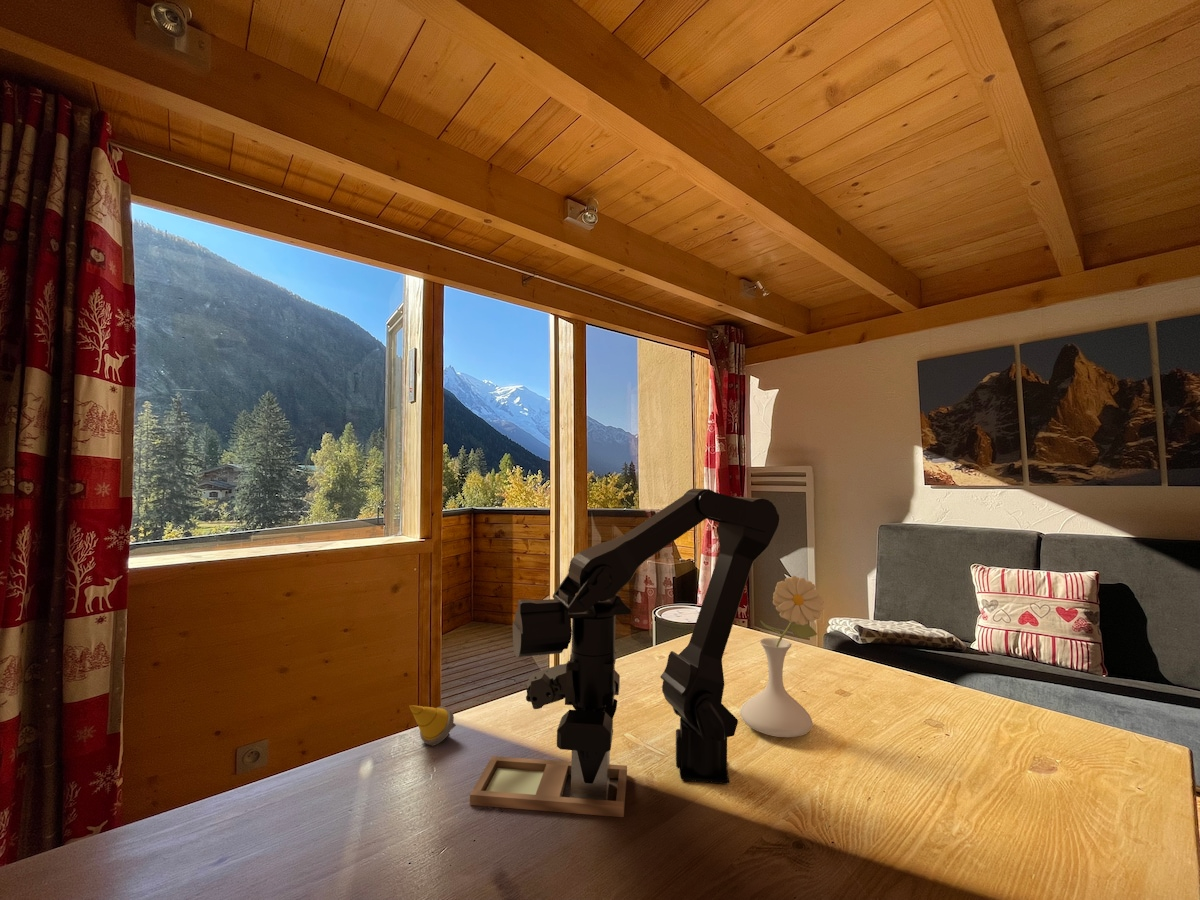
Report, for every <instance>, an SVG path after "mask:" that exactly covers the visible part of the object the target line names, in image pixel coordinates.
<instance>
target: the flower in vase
mask: <svg viewBox="0 0 1200 900" xmlns="http://www.w3.org/2000/svg"><path fill="white" fill-rule="evenodd" d="M772 599H773V600H772V604H773V606H775V610H776V611H777V612H779V616H780V618H782V619H785V620H786V621H788V622H789V624H788V625H787V627H786V628H785V630H784V631H783V633H781V632H780V631H779V629H776V628H775V627H773V626H770V625H768V624H766V623H765V622H764V621H762V620H761V619H760V623H761V625H762V627H764V628H766V629H768V630H770V631H773V632H775V633H777V634H778V635H780V637H779V638H777V637H776V638H775V637H764V638H762V639H759V644H761V646H762V648H763V649H764V652H765V657H766V660H767V668H768V671H767V672H768V679H767V684H766V686H765V688H763V689H762V690H761V691H759V692H758V693H756V694H754V695H753V696H752V697H749V698H748V699H747V700H746V701H745V702H744V703H743V704H741V707H740V710H739V716H740V718H741V720H742V721H743V722H744V723H745V725H747V726H748V727H749V728H751V729H753V730H754V731H757V732H759V733H762V734H764V735H768V736H772V737H778V738H795V737H801V736H803V735H806V734H808V733H809V732H810V731H811V730H812V728H813V726H814V723H813V719H812V717H811V715H810V713H809V712H808V711H807V710H806V708H805V707H803V705H802V704H800V702H798V701H797V700H796V699H795V698H794V697H792V696H791V694H789V693H788V692H787V690H786V689H785V685H784V681H783V680H784V678H783V669H784V663H785V662H784V661H785V658H786V656H787V655H786V654H787V653H788V651H789V650H790V648H791V647H792V643H791V642H790V641H788V640H785V639H783V638H784V636H785V635H786V634H787V632H788V630H789V629H790V630H791V631H792V632H793V633H794V634H795V636H796V637H798V638H800V639H808V638H812V637H815V636H817V635H818V633H817V631H815V629H814V628H813V627H812V626H811V625H809V622H811V623H812V622H815V621H816V620H817V619H818V620H819V619H820V618H821V612H822V611H823V609H824V608H823V604H824V598H823V596H822V595H820V591H819V590H818V589H816V585H815V584H814V583H813V582H812V581H810V580H806V578H804V577H797V575H792V576H791V577H786V578H784V580H781V581H777V583H776V586H775V591H774V592H773V596H772ZM793 622H794V623H793Z"/></svg>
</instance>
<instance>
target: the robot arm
mask: <svg viewBox="0 0 1200 900" xmlns="http://www.w3.org/2000/svg"><path fill="white" fill-rule="evenodd" d="M706 519H707V520H709V521H713V522H716V523H718V527H717V533H718V535H717V537H718V544H719V554H718V557H717V559H716V562H715V565H714V568H713V571H712V573H711V577H710V580H709V583H708V586H707V589H706V591H705V595H704V597H703V600H702V603H701V606H700V610H699V613H698V616H697V619H696V621H695V625H694V628H693V630H692V634H691V636H690V639H689V641H688V642H689V643H687V645H686V646H685V648H683V650H682V651H681V652H680V653H679V654H678V653H677V652H675V651H673V650H671V651H670V652H669V655H668V658H667V662H666V666H665V669H664V671H663V672H662V674H661V675H660V677H659V678H660V679H661V680H662V685H661V691H662V693H663V695H664V699H665V700H666V702H667V703H668V704H669V705H670V706H671V707H672V709H673V712H674V714H675V715H677V716H678V717H679V728H677V729H676V730H675V764H676V768H677V769H679V777H680V778H679V779H681V781H684V782H685V781H686V782H689V781H690V782H701V783H712V784H713V783H714V784H726V785H727V784H729V783H730V775H729V772H728V738H729V737H734V736H735V734H736V731H737V730H736V729H737V726H738V724H739V719H738V718H737V717H736V716H735V715H734V714H733V713H731V711H730V710H729V709H728V708H727V707H726V706H725V705H724V704H723V703H722V702H723V696H724V689H725V677H724V669H723V657H724V652H725V650H726V647H727V643H728V641H729V638H730V635H731V631H732V628H733V625H734V621H735V619H736V616H737V613H738V611H739V607H740V603H741V601H742V598H743V594H744V591H745V588H746V585H747V582H748V578H749V575H750V572H751V569H752V566H753V564H754V562H755V561H756V560H757V559H758V557H760V555H762V553H764V551H766V549H767V548H768V547H770V544H771V542H772V540H773V538H774V536H775V533H776V532H777V530H778V527H779V524H780V514H779V513H778V510H777V507H776V506H775V505H774V504H773V502H771V500H768V499H766V498H760V497H759V498H758V497H746V496H744V497H743V496H731V495H726V494H722V493H720V492H716V491H714V490H713V489H708V488H691V489H688V490H687V491H686V492H685V493H684V494H683V495H682V496H681V497H679V498H678V499H676V500H675V501H673V502H671V503H670V504H669V505H667V506H666V507H664V508H662V509H661V510H660V511H658V512H656V513H655V514H654V515H652V516H650V517H648V518H647V519H646V520H644V521H643V522H641V523H640V524H639V525H638V526H635V527H634V528H631V530H629V531H628V532H626V533H624V534H623V535H621V536H618V537H617V538H614V539H610V540H607V541H604V542H600V543H597V544H595V545H593V546H590V547H588V548H586V549H583V550H581V551H580V552H577V553H576V554H575V555H574V556H573V557H572V558H571V560H570V562H569V567H568V569H567V570H568V573H567V574H566V576H565V578H563V580H562V582H561V583H560V584H559V586H558V587H557V588H556V590H555V591H554V593H553V594H552V599H551V598H549V599H538V600H537V599H529V598H525V599H518V600H517V608H516V611H515V614H514V615H515V616H514V621H513V622H512V644H513V651H514V654H515V657H516V658H526V657H536V656H546V655H555V654H557V655H558V654H562V653H563V651H564V650H567V649H569V644H571V649H570V650H571V652H570V653H571V654H570V655H569V656H570V657H569V660H568V661H567V662H566V663H563V664H561V663H560V664H558V665H554V666H552V667H548V668H544V669H542V670H538V671H536V672H534V673H532V674H531V675H530V677H529V678H528V680H527V682H526V683H525V686H526V687H525V691H526V696H525V700H526V701H527V702H528V703H531V706H532V708H533V710H539V709H542V708H543V707H544V706H546V705H549V704H552V703H553V704H554V703H556V702H559V701H561V700H564V705H566V706H572V707H573V709H568V710H567V711H566V712H565V713H564V714H563V715H562V716H561V718H560V721H559V724H558V725H557V726H558V727H557V730H556V747H557V748H558V749H559V750H562V751H563V750H564V751H572V750H577V753H578V757H579V761H580V766H581V770H582V774H583V779H584V782H585V783H590V784H592V783H593V782H594V780H595V777H596V775H597V772H598V770H599V768H600V765H601V763H602V761H603V758H604V756H605V754H606V752H608V751H611V748H612V743H613V735H614V734H613V733H614V729H613V728H614V717H615V714H616V711H617V707H618V700H617V699H615V696H619V694H620V689H621V688H620V687H621V686H620V683H621V680H620V679H621V678H620V676H621V675H620V674H619V673H618V672H617V671H616V670H615V669H616V668H615V666H616V661H617V652H616V616H622V615H623V616H624V615H630V614H631V613H632V609H631V608H630V607H629V606H628V605H627V604H625V603H624V601H623V600H622V598H621V596H620V595H619V594H618V593H619V592H620V591H621V590H623V588H624V587H625V586H626V585H627V584H629V582H630V581H631V580H632V579H633V577H634V575H635V573H636V572H637V570H638V569H639V567H640V566H641V565H642V564H643V563H645V562H646V561H647V560H649V559H650V558H651V557H653V556H655V554H657V553H659V552H660V551H662V550H663V549H664V548H665V547H667V546H669V545H670V544H671V543H673V542H675V541H676V540H678V539H679V538H680V537H681V536H683V535H684V534H686V533H687V532H689V531H690V530H692V529H693V528H695V527H696V526H698V525H699V524H701V523H703V521H705V520H706Z"/></svg>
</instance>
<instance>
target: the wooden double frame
mask: <svg viewBox="0 0 1200 900" xmlns="http://www.w3.org/2000/svg"><path fill="white" fill-rule="evenodd" d="M568 775H570V776H571V761H567V760H566V761H565V760H552V759H536V758H523V757H511V756H510V757H509V756H495V755H492V756H491V757H490V759H489V760H488V762H487V764H486V766H485V768H484V769H483V771H482V773H481V775H480V776H479V778H478V780H477V782H475V783H476V784H474V785H475V786H474V787H473V788H472V791H471V792H470V794H469V805H470V806H481V807H492V808H506V809H507V808H508V809H517V810H528V811H529V810H531V811H542V812H543V811H544V812H552V813H553V812H557V813H568V814H581V815H592V816H593V815H594V816H605V817H615V818H617V817H619V818H624V817H625V805H626V804H625V803H626V801H625V800H626V792H627V781H628V780H627V777H628V765H621V764H610V770H609V779H618V780H617V788H616V798H615V800H608V799H607V800H596V799H583V798H571V796H570V797H568V796H563V794H564V791H565V786H566V783H567V780H568Z"/></svg>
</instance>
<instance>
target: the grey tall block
mask: <svg viewBox="0 0 1200 900" xmlns="http://www.w3.org/2000/svg"><path fill="white" fill-rule="evenodd" d="M610 751H611V750H610ZM610 751H608V752H606V754H605V756H604V758H603V761H602V763H601V765H600V768H599V770H598V772H597V775H596V777H595V780H594V782H593V783H592V784H590V783H585V782H584V779H583V774H582V770H581V766H580V761H579V757H578V753H577V750H571V761H570V762H571V775H570V777H571V778H570V798H583V799H596V800H608V795H609V787H610V778H609V770H610V761H611V759H610V758H611V757H610V756H611V755H610V754H611V753H610Z"/></svg>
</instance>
